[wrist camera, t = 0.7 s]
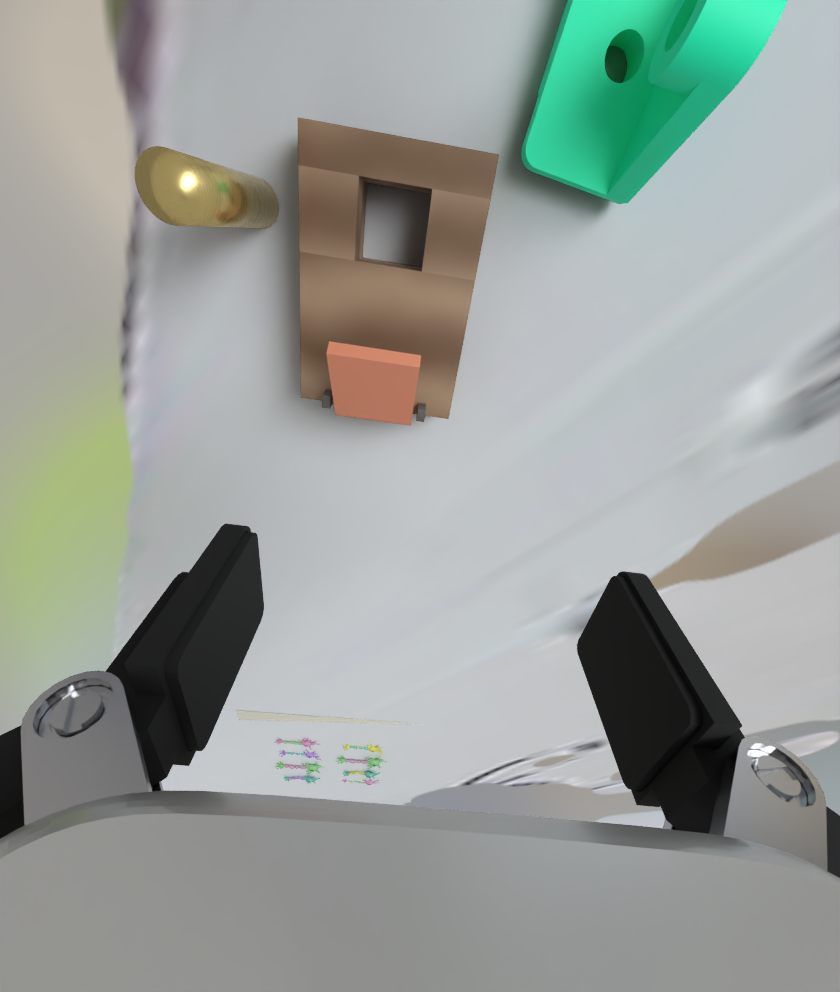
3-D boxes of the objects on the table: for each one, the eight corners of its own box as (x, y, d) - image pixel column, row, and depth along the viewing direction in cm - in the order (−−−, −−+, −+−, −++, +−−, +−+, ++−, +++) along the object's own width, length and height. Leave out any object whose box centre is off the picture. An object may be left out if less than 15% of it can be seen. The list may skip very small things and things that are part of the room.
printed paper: (426, 722, 66) (426, 731, 65) (410, 800, 83) (410, 809, 82) (237, 708, 65) (233, 717, 64) (259, 790, 82) (256, 799, 80)
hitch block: (313, 131, 27) (290, 111, 23) (490, 164, 28) (502, 150, 24) (312, 382, 37) (296, 403, 32) (446, 402, 37) (448, 425, 33)
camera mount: (600, -105, 22) (710, -322, 14) (723, -46, 23) (898, -213, 15) (513, 168, 28) (549, 139, 20) (612, 204, 29) (689, 193, 21)
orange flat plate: (329, 341, 27) (326, 353, 26) (421, 355, 27) (419, 367, 27) (337, 404, 33) (335, 414, 33) (411, 414, 33) (410, 425, 33)
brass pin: (234, 173, 29) (128, 140, 19) (278, 181, 29) (196, 152, 19) (238, 224, 30) (142, 220, 20) (279, 231, 31) (205, 230, 20)
